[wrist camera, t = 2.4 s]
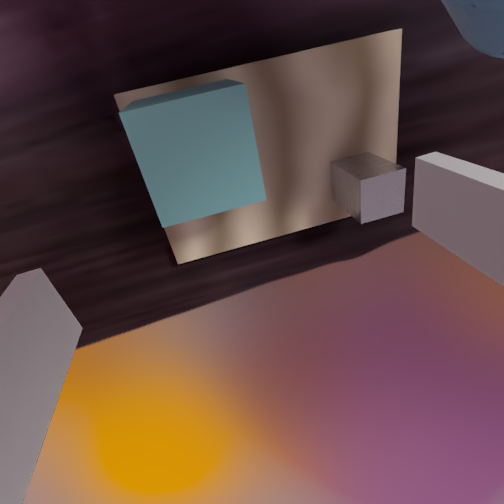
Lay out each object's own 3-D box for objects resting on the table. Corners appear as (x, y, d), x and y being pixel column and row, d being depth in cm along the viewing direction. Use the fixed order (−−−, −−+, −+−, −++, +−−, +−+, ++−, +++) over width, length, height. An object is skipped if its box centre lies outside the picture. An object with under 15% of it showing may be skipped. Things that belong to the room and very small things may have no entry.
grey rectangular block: (332, 199, 33) (361, 223, 28) (329, 161, 31) (360, 180, 26) (368, 189, 34) (403, 212, 29) (368, 151, 32) (406, 168, 26)
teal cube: (164, 191, 29) (162, 227, 23) (132, 100, 25) (118, 113, 19) (245, 170, 30) (266, 200, 23) (226, 78, 26) (245, 83, 19)
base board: (177, 257, 34) (178, 264, 33) (116, 93, 26) (113, 95, 25) (386, 199, 36) (394, 204, 35) (391, 29, 28) (402, 28, 27)
